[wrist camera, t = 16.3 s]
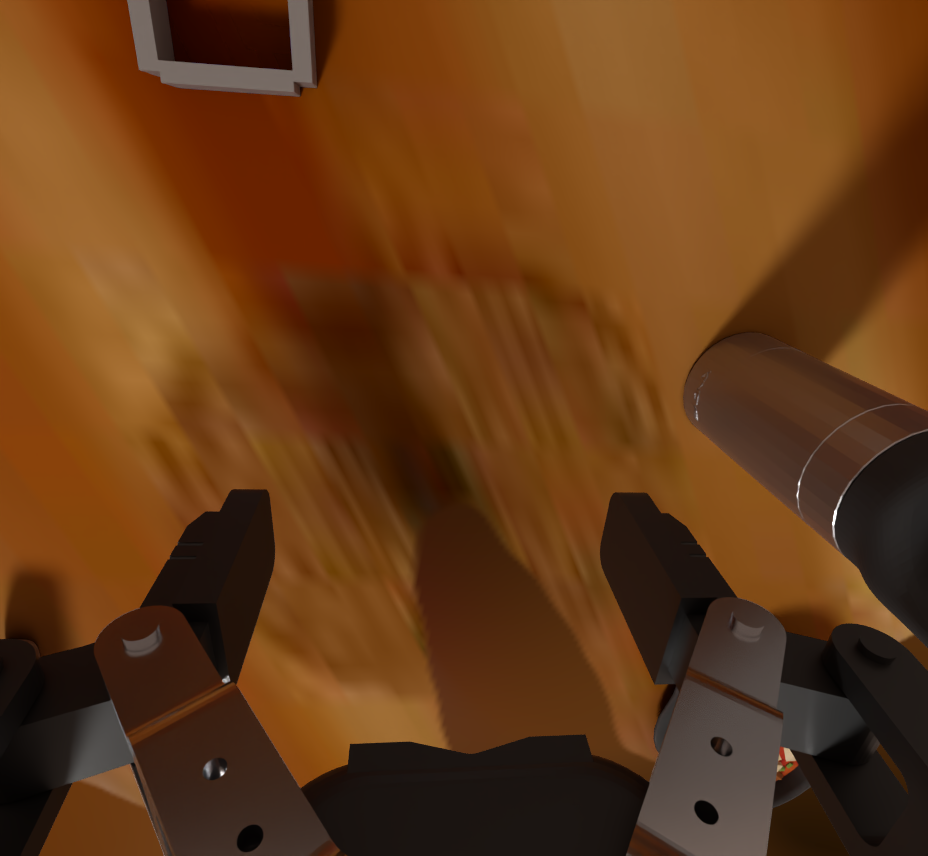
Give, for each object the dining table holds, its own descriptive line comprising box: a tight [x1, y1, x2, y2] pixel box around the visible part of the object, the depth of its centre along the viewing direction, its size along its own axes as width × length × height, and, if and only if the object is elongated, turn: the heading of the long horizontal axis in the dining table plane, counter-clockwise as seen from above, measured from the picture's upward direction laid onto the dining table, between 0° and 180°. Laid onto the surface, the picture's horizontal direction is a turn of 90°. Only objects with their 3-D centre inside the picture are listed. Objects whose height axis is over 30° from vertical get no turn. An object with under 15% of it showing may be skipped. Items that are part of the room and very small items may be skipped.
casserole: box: [654, 687, 811, 808], centre depth 62 cm, size 25×19×8 cm
